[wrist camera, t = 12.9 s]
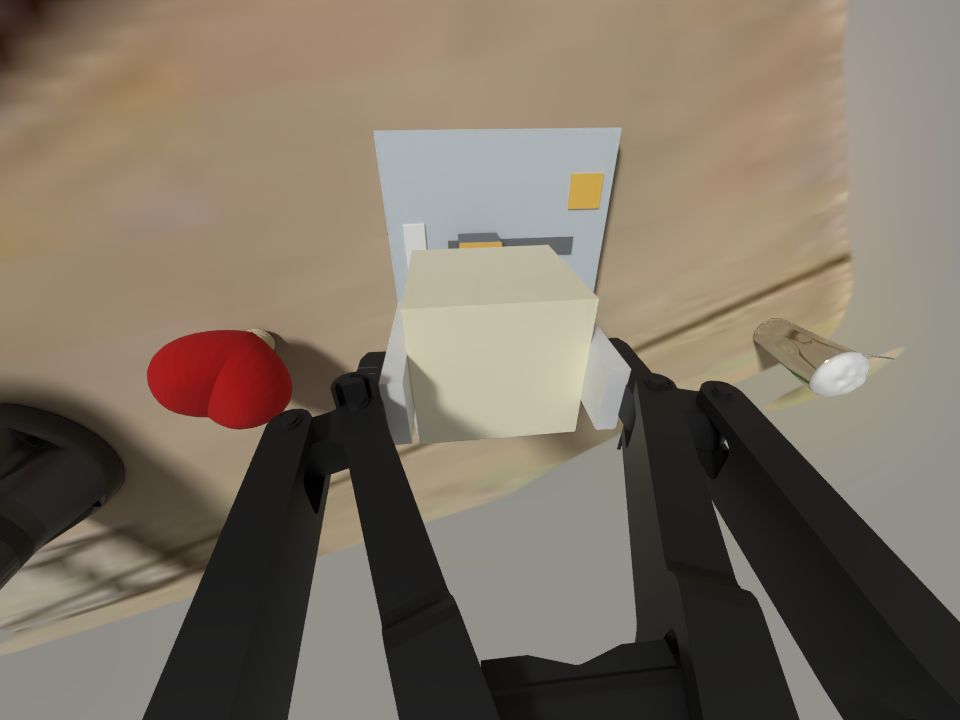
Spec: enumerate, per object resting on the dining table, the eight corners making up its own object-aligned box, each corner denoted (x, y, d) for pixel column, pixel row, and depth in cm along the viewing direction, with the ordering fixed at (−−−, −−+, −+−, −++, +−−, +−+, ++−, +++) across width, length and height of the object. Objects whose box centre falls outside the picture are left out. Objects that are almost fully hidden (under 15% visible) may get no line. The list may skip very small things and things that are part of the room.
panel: (418, 423, 41) (417, 437, 39) (377, 130, 26) (372, 130, 24) (565, 413, 42) (571, 426, 40) (610, 127, 27) (622, 127, 25)
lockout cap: (424, 358, 21) (420, 444, 15) (412, 250, 18) (400, 309, 12) (538, 351, 22) (575, 431, 16) (548, 244, 18) (598, 298, 13)
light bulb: (325, 327, 34) (287, 395, 25) (303, 382, 37) (263, 458, 28) (214, 282, 30) (128, 342, 22) (200, 346, 33) (120, 420, 25)
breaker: (459, 265, 29) (460, 279, 27) (457, 233, 28) (459, 244, 25) (495, 264, 29) (501, 277, 27) (496, 232, 28) (502, 243, 25)
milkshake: (806, 312, 37) (911, 366, 29) (768, 354, 40) (854, 414, 32) (775, 299, 36) (875, 351, 28) (737, 343, 39) (819, 402, 30)
